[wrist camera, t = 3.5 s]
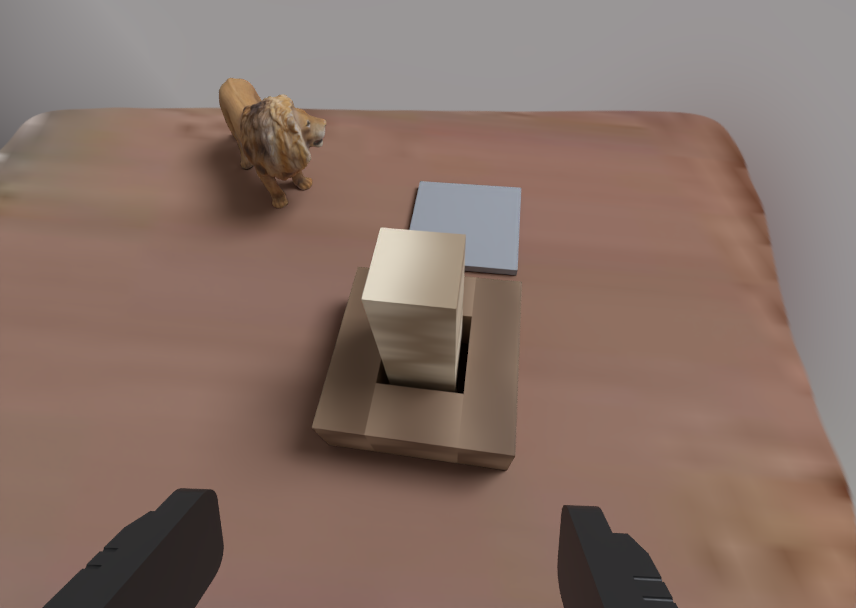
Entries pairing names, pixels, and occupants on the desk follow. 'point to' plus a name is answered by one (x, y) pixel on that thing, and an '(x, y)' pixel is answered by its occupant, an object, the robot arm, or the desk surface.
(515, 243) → the slate mat
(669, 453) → the desk surface
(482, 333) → the socket block
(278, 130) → the lion figurine
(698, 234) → the desk surface
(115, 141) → the desk surface
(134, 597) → the robot arm
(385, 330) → the birch peg
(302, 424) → the desk surface
